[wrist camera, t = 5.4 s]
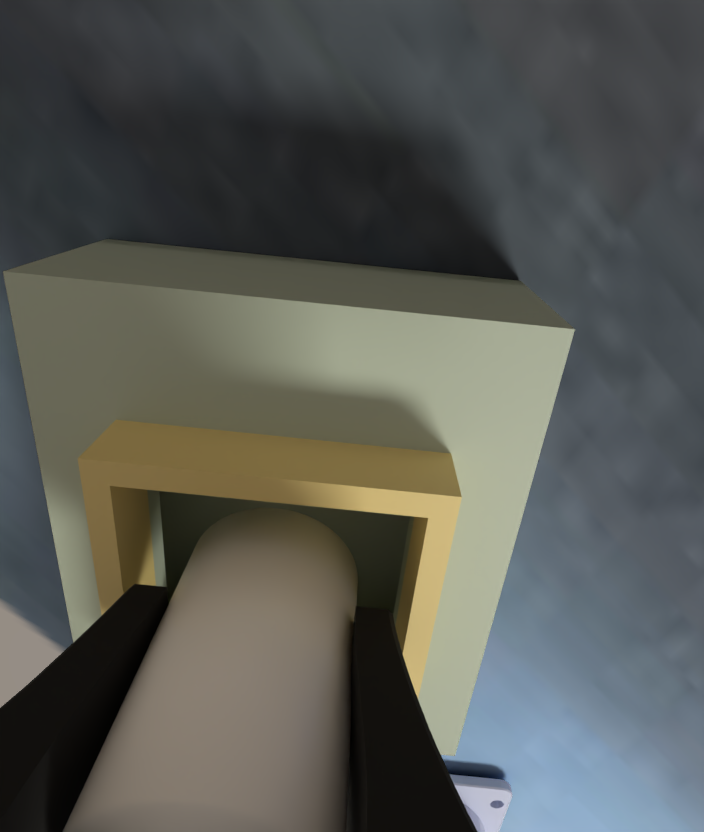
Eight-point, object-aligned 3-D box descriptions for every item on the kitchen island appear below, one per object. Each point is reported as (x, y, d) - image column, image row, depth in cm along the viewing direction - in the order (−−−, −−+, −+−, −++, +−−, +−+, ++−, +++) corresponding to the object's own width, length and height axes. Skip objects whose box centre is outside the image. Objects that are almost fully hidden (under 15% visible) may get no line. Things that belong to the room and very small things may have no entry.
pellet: (352, 642, 12) (336, 964, 7) (197, 630, 12) (79, 943, 8) (362, 514, 11) (350, 815, 6) (185, 501, 11) (25, 789, 6)
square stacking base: (439, 637, 18) (462, 817, 13) (144, 607, 18) (58, 776, 13) (520, 280, 13) (607, 358, 8) (106, 238, 13) (-61, 291, 8)
